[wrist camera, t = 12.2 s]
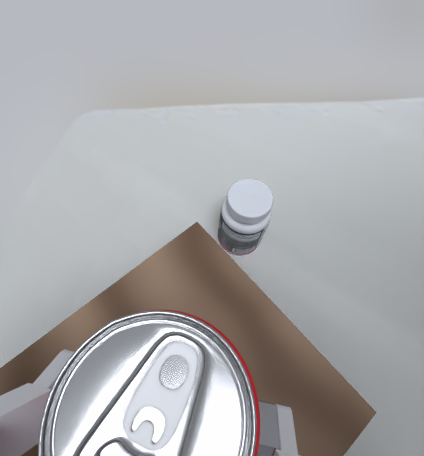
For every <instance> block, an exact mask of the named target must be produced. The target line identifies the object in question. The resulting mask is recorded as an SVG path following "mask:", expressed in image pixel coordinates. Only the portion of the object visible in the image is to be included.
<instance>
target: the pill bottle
mask: <svg viewBox="0 0 424 456" xmlns="http://www.w3.org/2000/svg"><path fill="white" fill-rule="evenodd" d="M272 204H273V196H272V193H271V191H270V189H269V188H268V187H267V186H266V185H265V184H264V183H262V182H261V181H258V180H255V179H242V180H239V181H237V182H235V183H234V184H233V185H232V186H231V187H230V189H229V191H228V195H227V196H226V197H225V199H224V201H223V203H222V207H221V214H220V222H219V229H218V238H219V241H220V243H221V245H222V246H223V247H224V248H225V249H226V250H227V251H228V252H230V253H232V254H236V255H245V254H249V253H251V252H252V251H254V250H255V249H256V248H257V247H258V245H259V243H260V241H261V239H262V236H263V234H264V232H265V230H266V228H267V225H268V223H269V221H270V218H271V207H272Z"/></svg>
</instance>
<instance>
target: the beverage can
mask: <svg viewBox="0 0 424 456" xmlns="http://www.w3.org/2000/svg"><path fill="white" fill-rule="evenodd" d="M259 440H260V410H259V402H258V397H257V392H256V388H255V385H254V382H253V379H252V376H251V374H250V371H249V369H248V367H247V365H246V363H245V361H244V359H243V357H242V356H241V354H240V353H239V351H238V350H237V348H236V347H235V346H234V345H233V343H232V342H231V341H230V340H229V339H228V338H227V337H226V336H225V335H224V334H223V333H222V332H221V331H220V330H218V329H217V328H216V327H214V326H213V325H211V324H210V323H208V322H207V321H205V320H203V319H201V318H199V317H196V316H194V315H191V314H188V313H185V312H181V311H175V310H161V309H160V310H148V311H142V312H138V313H134V314H130V315H127V316H123V317H120V318H118V319H115V320H112V321H111V322H109V323H108V324H106V325H105V326H103V327H102V328H100V329H99V330H98V331H96V332H95V333H94V334H92V335H91V336H90V337H89V338H88V339H86V340H85V341H84V342H83V343H82V344H81V345H80V346H79V347H78V348H77V349H76V351H75V352H74V353H73V354H72V355H71V357H70V358H69V359H68V360H67V362H66V363H65V365H64V366H63V368H62V369H61V371H60V373H59V374H58V376H57V378H56V380H55V382H54V384H53V386H52V388H51V390H50V392H49V395H48V398H47V400H46V403H45V407H44V410H43V414H42V418H41V423H40V429H39V437H38V456H257V454H258V448H259Z"/></svg>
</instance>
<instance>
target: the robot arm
mask: <svg viewBox="0 0 424 456" xmlns="http://www.w3.org/2000/svg"><path fill="white" fill-rule="evenodd" d="M73 353H74V352H73V351H69V350H66V349H64V350H63V351H61V352H60V353H59V354H58V355H57V356H56V357H55V359H54V360H53V361H52V362H51V363H50V364H49V366H48V367H47V368H46V369H45V370H44V371H43V372H42V374H41V375H40V376H39V377H38V378H37V379H36V380H35V382H34V383H33V384H31V383H27V384H25V385H23V386H21V387H18V388H16V389H14V390H12V391H10V392H7V393H5V394H3V395H1V396H0V456H21V455H23V454H24V453H25V452H27V451H28V450H30V449H31V448H32V447H34V446H35V445H36V444H38V437H39V429H40V423H41V418H42V414H43V410H44V407H45V403H46V400H47V398H48V395H49V392H50V390H51V388H52V386H53V384H54V382H55V380H56V378H57V376H58V374H59V373H60V371H61V369H62V368H63V366H64V365H65V363H66V362H67V360H68V359H69V358H70V357H71V355H72V354H73ZM258 402H259V410H260V440H259V448H258V454H257V456H300V455H298V451H297V444H296V436H295V429H294V422H293V415H292V410H291V408H290V407H286V406H282V405H278V404H274V403H270V402H266V401H262V400H258Z"/></svg>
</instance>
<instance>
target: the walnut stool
mask: <svg viewBox="0 0 424 456" xmlns="http://www.w3.org/2000/svg"><path fill="white" fill-rule="evenodd" d="M160 309H161V310H175V311H181V312H185V313H188V314H191V315H194V316H196V317H199V318H201V319H203V320H205V321H207V322H208V323H210V324H211V325H213V326H214V327H216V328H217V329H218V330H220V331H221V332H222V333H223V334H224V335H225V336H226V337H227V338H228V339H229V340H230V341H231V342H232V343H233V345H234V346H235V347H236V348H237V350H238V351H239V353H240V354H241V356H242V357H243V359H244V361H245V363H246V365H247V367H248V369H249V371H250V374H251V376H252V379H253V382H254V385H255V388H256V392H257V397H258V400H262V401H266V402H270V403H274V404H278V405H282V406H286V407H290V408H291V410H292V415H293V422H294V429H295V436H296V444H297V451H298V455H300V456H343V455H344V454H345V453H346V452H347V450H348V449H349V448H350V446H351V445H352V444H353V442H354V441H355V440H356V439H357V437H358V436H359V435H360V433H361V432H362V431H363V429H364V428H365V427H366V426H367V424H368V423H369V422H370V420H371V419H372V418H373V416H374V415H375V414H376V412H375V411H374V410H373V408H372V407H371V406H370V405H369V404H368V403H367V402H366V401H365V400H364V399H363V398H362V397H361V396H360V395H359V394H358V392H357V391H356V390H355V389H354V388H353V387H352V386H351V385H350V384H349V383H348V382H347V381H346V380H345V379H344V378H343V377H342V375H341V374H340V373H339V372H338V371H337V370H336V369H335V368H334V367H333V366H332V365H331V364H330V363H329V362H328V361H327V360H326V358H325V357H324V356H323V355H322V354H321V353H320V352H319V351H318V350H317V349H316V348H315V347H314V346H313V345H312V344H311V342H310V341H309V340H308V339H307V338H306V337H305V336H304V335H303V334H302V333H301V332H300V331H299V330H298V329H297V328H296V327H295V325H294V324H293V323H292V322H291V321H290V320H289V319H288V318H287V317H286V316H285V315H284V314H283V313H282V312H281V311H280V310H279V308H278V307H277V306H276V305H275V304H274V303H273V302H272V301H271V300H270V299H269V298H268V297H267V296H266V295H265V294H264V292H263V291H262V290H261V289H260V288H259V287H258V286H257V285H256V284H255V283H254V282H253V281H252V280H251V279H250V278H249V277H248V275H247V274H246V273H245V272H244V271H243V270H242V269H241V268H240V267H239V266H238V265H237V264H236V263H235V262H234V261H233V260H232V258H231V257H230V256H229V255H228V254H227V253H226V252H225V251H224V250H223V249H222V248H221V247H220V246H219V245H218V244H217V242H216V241H215V240H214V239H213V238H212V237H211V236H210V235H209V234H208V233H207V232H206V231H205V230H204V229H203V228H202V227H201V225H200V224H199V223H198V222H196V223H195V224H194V225H192V226H191V227H189V228H188V229H187V230H185V231H184V232H183V233H181V234H180V235H179V236H177V237H176V238H175V239H173V240H172V241H171V242H169V243H168V244H167V245H165V246H164V247H163V248H161V249H160V250H159V251H157V252H156V253H155V254H153V255H152V256H151V257H149V258H148V259H146V260H145V261H144V262H142V263H141V264H140V265H138V266H137V267H136V268H134V269H133V270H132V271H130V272H129V273H128V274H126V275H125V276H124V277H122V278H121V279H120V280H118V281H117V282H116V283H114V284H113V285H112V286H110V287H109V288H108V289H106V290H105V291H103V292H102V293H101V294H99V295H98V296H97V297H95V298H94V299H93V300H91V301H90V302H89V303H87V304H86V305H85V306H83V307H82V308H81V309H79V310H78V311H77V312H75V313H74V314H73V315H71V316H70V317H69V318H67V319H66V320H65V321H63V322H62V323H61V324H59V325H58V326H56V327H55V328H54V329H52V330H51V331H50V332H48V333H47V334H46V335H44V336H43V337H42V338H40V339H39V340H38V341H36V342H35V343H34V344H32V345H31V346H30V347H28V348H27V349H26V350H24V351H23V352H22V353H20V354H19V355H18V356H16V357H15V358H13V359H12V360H11V361H9V362H8V363H7V364H5V365H4V366H3V367H1V368H0V396H1V395H3V394H5V393H7V392H10V391H12V390H14V389H16V388H18V387H21V386H23V385H25V384H27V383H31V384H33V383H34V382H35V380H36V379H37V378H38V377H39V376H40V375H41V374H42V372H43V371H44V370H45V369H46V368H47V367H48V366H49V364H50V363H51V362H52V361H53V360H54V359H55V357H56V356H57V355H58V354H59V353H60V352H61V351H63V350H64V349H66V350H69V351H73V352H75V351H76V349H77V348H78V347H79V346H80V345H81V344H82V343H83V342H84V341H85V340H86V339H88V338H89V337H90V336H91V335H92V334H94V333H95V332H96V331H98V330H99V329H100V328H102V327H103V326H105V325H106V324H108V323H109V322H111V321H112V320H115V319H118V318H120V317H123V316H127V315H130V314H134V313H138V312H142V311H148V310H160ZM21 456H38V444H36V445H35V446H34V447H32V448H31V449H30V450H28V451H27V452H25V453H24V454H23V455H21Z"/></svg>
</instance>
